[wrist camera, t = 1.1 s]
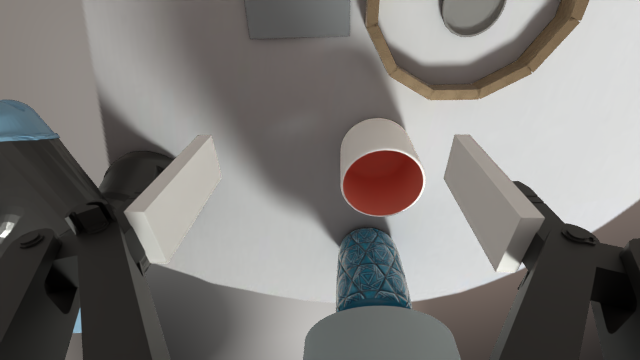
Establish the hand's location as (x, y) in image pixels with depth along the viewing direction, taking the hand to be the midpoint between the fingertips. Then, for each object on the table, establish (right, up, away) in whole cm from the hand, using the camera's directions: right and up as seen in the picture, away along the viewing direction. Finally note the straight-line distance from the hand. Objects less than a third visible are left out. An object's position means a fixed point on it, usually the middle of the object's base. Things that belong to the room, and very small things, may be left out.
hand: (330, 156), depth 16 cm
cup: (+8, +4, +27) cm, 28 cm away
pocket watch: (+16, +19, +16) cm, 30 cm away
